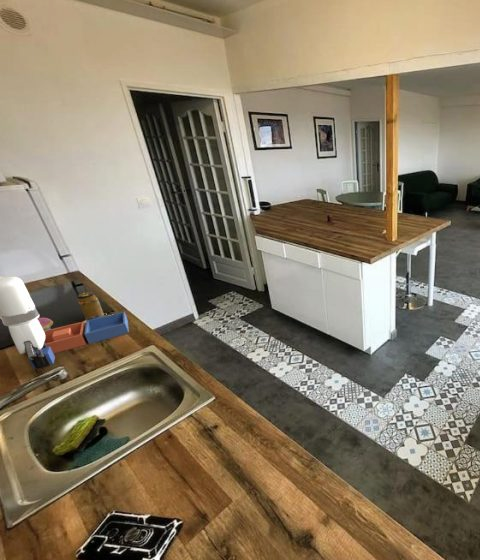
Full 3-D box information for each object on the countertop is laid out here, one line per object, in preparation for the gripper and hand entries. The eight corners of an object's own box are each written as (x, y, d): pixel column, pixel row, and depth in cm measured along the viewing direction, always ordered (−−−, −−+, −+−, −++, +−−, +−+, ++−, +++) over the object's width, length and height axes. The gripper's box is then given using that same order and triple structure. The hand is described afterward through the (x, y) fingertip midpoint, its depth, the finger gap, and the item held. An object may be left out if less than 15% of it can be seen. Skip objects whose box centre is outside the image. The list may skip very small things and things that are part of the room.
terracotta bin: (40, 357, 112) (35, 346, 110) (46, 341, 120) (40, 331, 119) (86, 344, 119) (81, 334, 117) (88, 330, 127) (83, 321, 126)
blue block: (33, 369, 101) (27, 358, 99) (36, 362, 104) (30, 351, 102) (53, 364, 103) (47, 353, 101) (55, 357, 106) (49, 346, 105)
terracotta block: (57, 346, 117) (52, 336, 115) (58, 341, 120) (53, 331, 118) (73, 342, 119) (68, 332, 117) (74, 337, 122) (69, 327, 121)
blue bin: (88, 343, 119) (84, 334, 117) (90, 329, 128) (86, 320, 126) (128, 332, 126) (125, 323, 125) (127, 320, 135) (124, 311, 133)
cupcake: (34, 343, 119) (19, 316, 114) (21, 338, 122) (6, 312, 117) (62, 331, 127) (49, 305, 122) (49, 327, 129) (36, 302, 124)
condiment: (91, 315, 138) (81, 291, 133) (113, 313, 140) (104, 289, 135) (81, 323, 132) (69, 299, 127) (104, 321, 134) (94, 297, 129)
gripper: (8, 308, 100) (32, 353, 107) (-6, 332, 88) (23, 381, 95) (41, 301, 104) (63, 346, 112) (32, 324, 92) (57, 372, 100)
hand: (44, 362), depth 103 cm, fingers closed on blue block, 4 cm apart
